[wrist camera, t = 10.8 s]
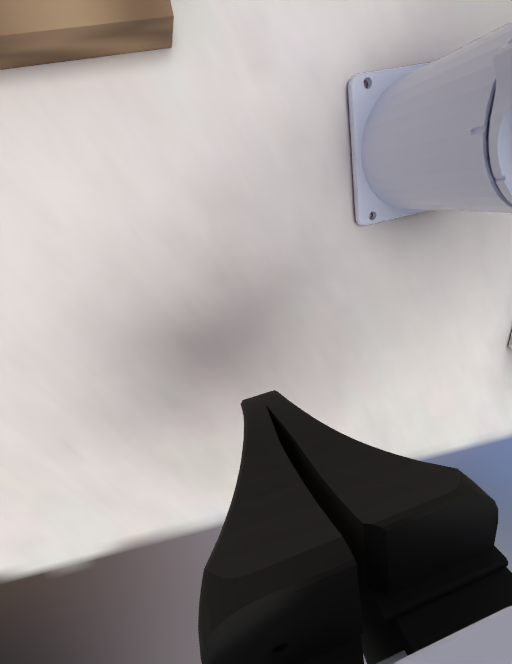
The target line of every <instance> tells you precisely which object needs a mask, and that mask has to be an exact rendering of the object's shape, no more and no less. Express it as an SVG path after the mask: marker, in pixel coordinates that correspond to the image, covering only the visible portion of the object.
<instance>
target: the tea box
mask: <svg viewBox="0 0 512 664" xmlns="http://www.w3.org/2000/svg"><path fill="white" fill-rule="evenodd" d="M508 347H510V348H511V349H512V334H511V338H510V342H509V346H508Z"/></svg>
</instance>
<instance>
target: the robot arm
mask: <svg viewBox="0 0 512 664" xmlns="http://www.w3.org/2000/svg"><path fill="white" fill-rule="evenodd" d="M364 80H366V81H367V82H368V88H367V89H366V88H365V87H364V84H363V83H364ZM348 96H349V113H350V130H351V147H352V165H353V182H354V199H355V216H356V222H357V223H358V224H359V225H361V226H366V225H370V224H375V223H379V222H383V221H387V220H391V219H395V218H399V217H404V216H408V215H412V214H416V213H420V212H424V211H428V210H450V211H479V212H507V213H512V22H510V23H508V24H506V25H504V26H502V27H500V28H498V29H496V30H495V31H493V32H491V33H489V34H487V35H485V36H483V37H481V38H479V39H477V40H475V41H473V42H471V43H469V44H467V45H465V46H463V47H461V48H459V49H457V50H455V51H453V52H451V53H449V54H447V55H445V56H443V57H442V58H440V59H438V60H436V61H434V62H429V63H423V64H416V65H410V66H404V67H397V68H391V69H385V70H378V71H372V72H365V73H359V74H356V75H355V76H353V77H352V78H351V79H350V81H349V83H348ZM371 212H372V213H373V217H372V219H370V218H369V214H370V213H371ZM241 407H242V411H243V415H244V441H243V450H242V458H241V465H240V470H239V475H238V479H237V484H236V487H235V491H234V495H233V498H232V502H231V505H230V508H229V511H228V514H227V516H226V519H225V522H224V525H223V527H222V530H221V533H220V535H219V538H218V540H217V542H216V544H215V547H214V549H213V551H212V553H211V555H210V558H209V560H208V562H207V564H206V566H205V568H204V572H203V579H202V586H201V594H200V603H199V621H198V622H199V623H198V631H199V642H200V654H201V661H202V664H364V659H363V654H364V656H365V659H366V662H367V664H512V573H511V572H510V571H509V570H508V568H507V567H506V566H507V565H508V561H507V559H506V557H505V556H504V555H503V554H502V553H501V552H500V551H499V550H498V549H497V548H496V547H495V546H494V541H495V536H496V530H497V525H498V508H497V505H496V503H495V501H494V500H493V499H492V498H491V497H490V496H488V494H486V493H485V492H484V491H483V490H482V489H481V488H480V487H479V486H478V485H477V484H476V483H474V482H473V481H472V480H471V479H470V478H468V477H467V476H466V475H465V474H463V473H462V472H461V471H459V470H458V469H456V468H451V467H446V466H441V465H436V464H432V463H426V462H422V461H418V460H414V459H410V458H407V457H403V456H399V455H396V454H393V453H390V452H386V451H383V450H381V449H378V448H375V447H372V446H370V445H367V444H364V443H362V442H359V441H357V440H355V439H352V438H350V437H348V436H346V435H344V434H342V433H340V432H338V431H336V430H334V429H332V428H330V427H329V426H327V425H325V424H323V423H322V422H320V421H318V420H317V419H315V418H313V417H312V416H310V415H309V414H307V413H306V412H304V411H303V410H301V409H300V408H298V407H297V406H296V405H294V404H293V403H291V402H290V401H289V400H287V399H286V398H285V397H284V396H282V395H281V394H280V393H279V392H277V391H275V390H274V391H271V392H267V393H264V394H261V395H258V396H255V397H252V398H248V399H245V400H243V401H242V403H241Z"/></svg>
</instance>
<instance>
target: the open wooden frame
mask: <svg viewBox="0 0 512 664" xmlns="http://www.w3.org/2000/svg"><path fill="white" fill-rule="evenodd" d="M173 17H174V16H173V11H172V7H171V2H170V0H0V69H8V68H15V67H23V66H31V65H39V64H46V63H54V62H62V61H69V60H77V59H85V58H93V57H100V56H108V55H116V54H124V53H131V52H139V51H147V50H155V49H162V48H170V47H172V33H173Z"/></svg>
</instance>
